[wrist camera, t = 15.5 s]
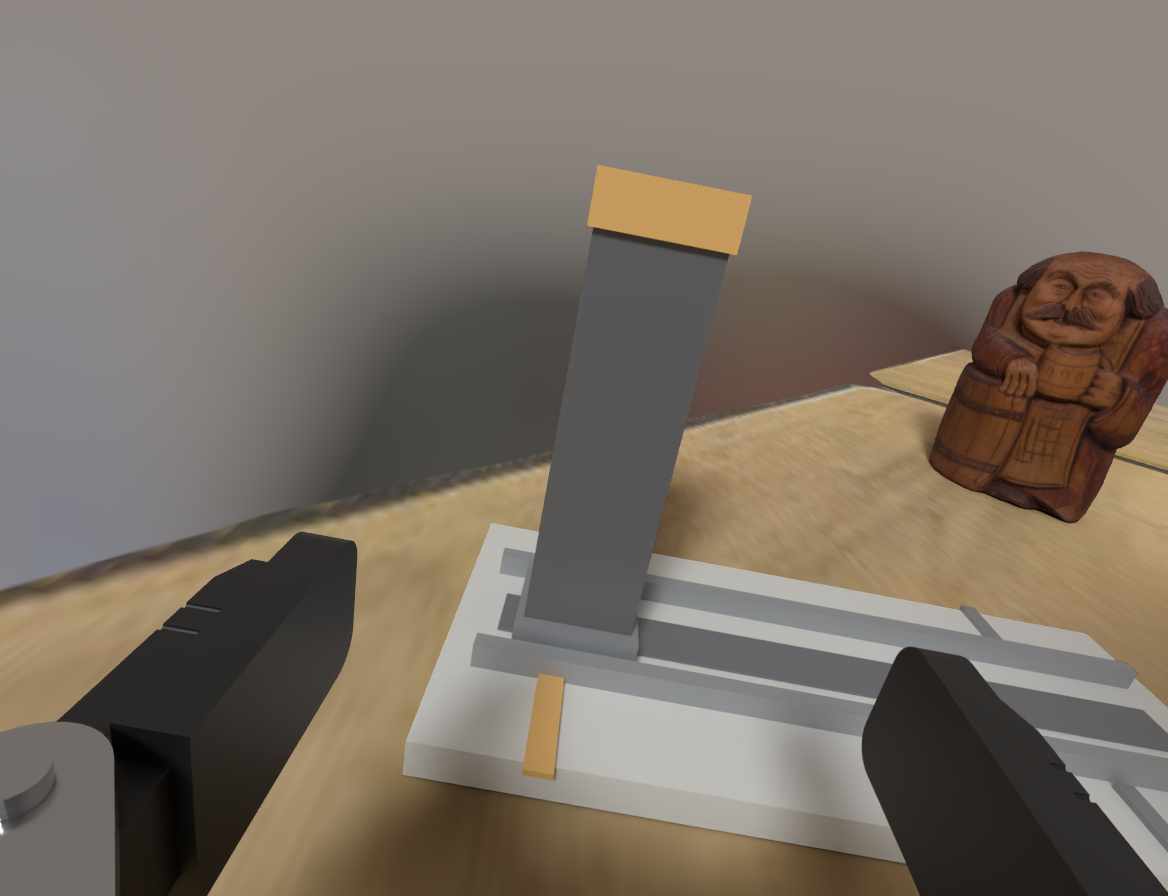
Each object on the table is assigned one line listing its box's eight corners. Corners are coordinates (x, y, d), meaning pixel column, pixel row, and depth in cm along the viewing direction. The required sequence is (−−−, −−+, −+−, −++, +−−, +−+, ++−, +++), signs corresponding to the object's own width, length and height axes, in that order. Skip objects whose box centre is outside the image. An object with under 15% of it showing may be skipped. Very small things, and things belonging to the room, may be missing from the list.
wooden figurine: (911, 468, 50) (1006, 235, 44) (929, 454, 55) (1018, 242, 48) (1086, 534, 43) (1230, 271, 37) (1090, 512, 48) (1218, 275, 42)
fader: (630, 595, 24) (730, 198, 19) (633, 667, 20) (758, 196, 15) (526, 576, 24) (597, 172, 18) (510, 645, 20) (593, 163, 15)
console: (1067, 649, 29) (1088, 613, 28) (1387, 962, 17) (1438, 914, 16) (489, 542, 28) (495, 503, 27) (397, 787, 16) (403, 730, 16)
